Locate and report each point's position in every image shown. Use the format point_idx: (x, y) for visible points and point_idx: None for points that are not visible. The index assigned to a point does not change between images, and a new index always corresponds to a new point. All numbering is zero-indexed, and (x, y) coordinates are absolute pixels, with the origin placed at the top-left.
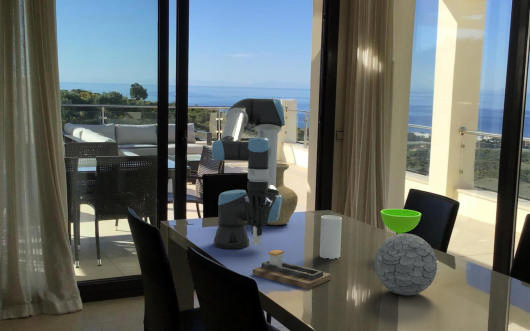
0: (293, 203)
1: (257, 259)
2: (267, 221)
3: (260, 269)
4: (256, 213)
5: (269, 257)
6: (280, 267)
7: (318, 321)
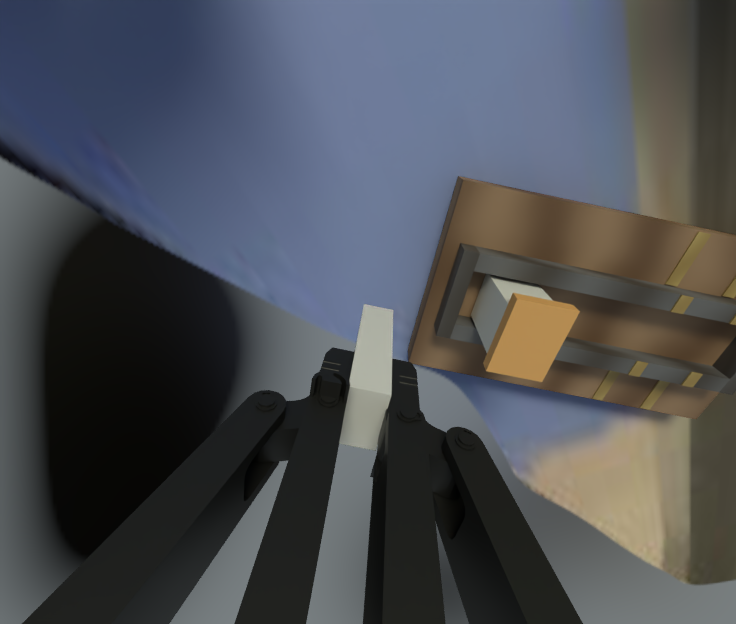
0: None
1: (299, 91)
2: (499, 473)
3: (440, 349)
4: (319, 545)
5: (482, 341)
6: None
7: (708, 568)
